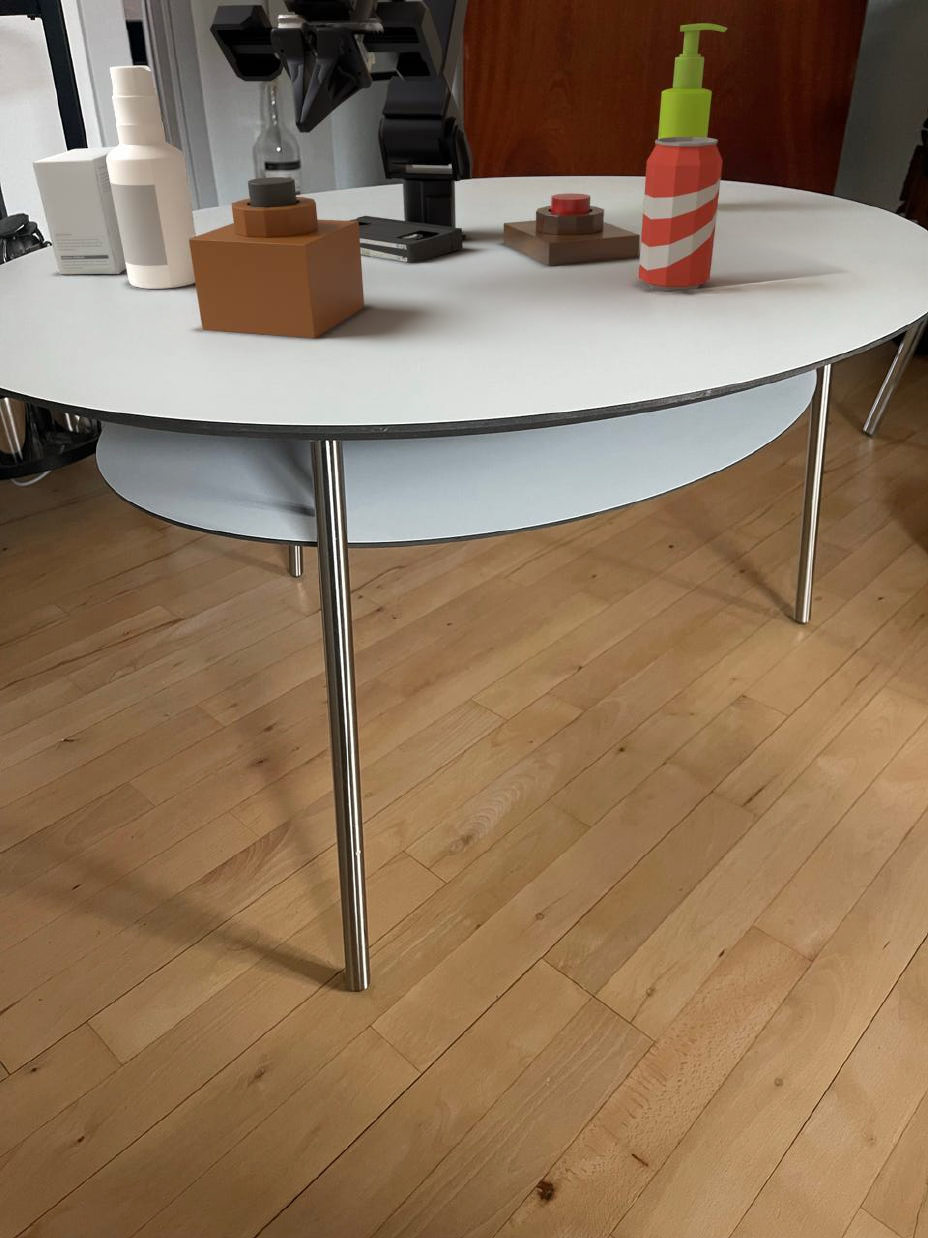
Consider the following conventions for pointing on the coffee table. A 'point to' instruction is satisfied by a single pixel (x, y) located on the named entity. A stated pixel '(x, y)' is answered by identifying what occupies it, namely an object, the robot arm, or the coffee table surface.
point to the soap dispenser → (687, 90)
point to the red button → (570, 203)
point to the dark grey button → (272, 192)
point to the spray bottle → (149, 187)
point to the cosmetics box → (81, 211)
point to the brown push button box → (278, 271)
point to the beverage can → (680, 213)
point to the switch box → (571, 238)
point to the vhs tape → (406, 239)
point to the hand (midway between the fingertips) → (301, 128)
